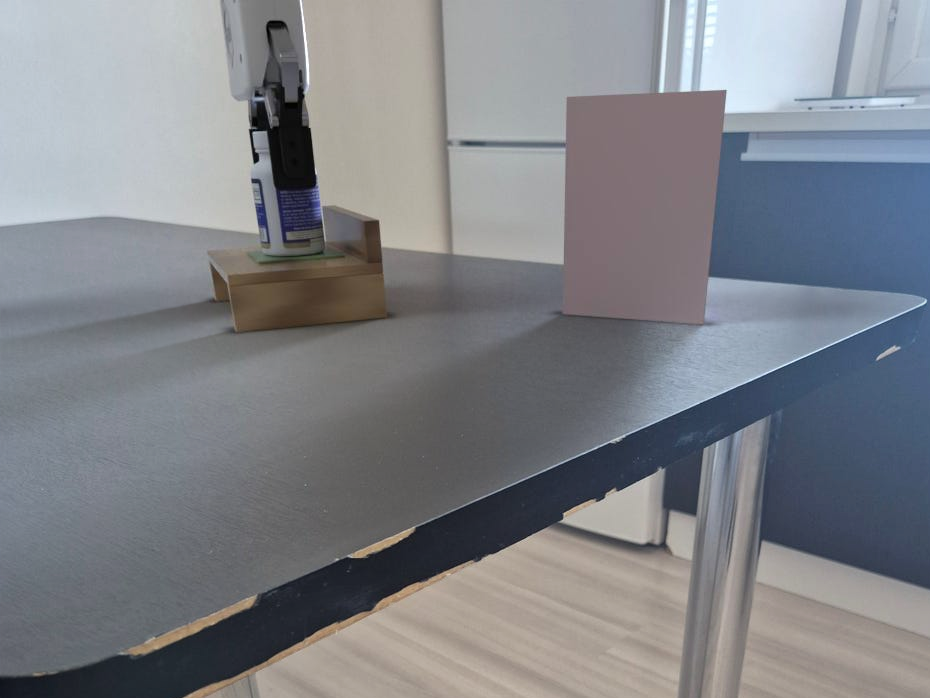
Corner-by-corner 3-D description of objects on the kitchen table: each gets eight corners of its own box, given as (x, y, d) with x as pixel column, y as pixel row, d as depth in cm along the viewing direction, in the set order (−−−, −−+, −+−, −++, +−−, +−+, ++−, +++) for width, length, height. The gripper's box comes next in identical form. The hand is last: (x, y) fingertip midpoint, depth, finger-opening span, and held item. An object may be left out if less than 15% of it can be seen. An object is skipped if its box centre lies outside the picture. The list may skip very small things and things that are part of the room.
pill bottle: (335, 248, 75) (323, 128, 70) (309, 257, 70) (294, 130, 66) (279, 248, 76) (263, 130, 71) (250, 257, 72) (231, 132, 67)
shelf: (237, 336, 67) (219, 230, 63) (215, 302, 80) (200, 213, 76) (387, 320, 71) (379, 220, 67) (343, 291, 84) (334, 205, 80)
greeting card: (712, 326, 65) (737, 89, 57) (630, 338, 62) (644, 91, 55) (625, 303, 74) (636, 95, 66) (549, 313, 71) (551, 97, 64)
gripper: (187, -66, 68) (225, 182, 77) (208, -117, 54) (253, 194, 63) (283, -63, 70) (310, 178, 79) (328, -111, 56) (355, 189, 65)
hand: (285, 185), depth 71 cm, fingers open, 9 cm apart
